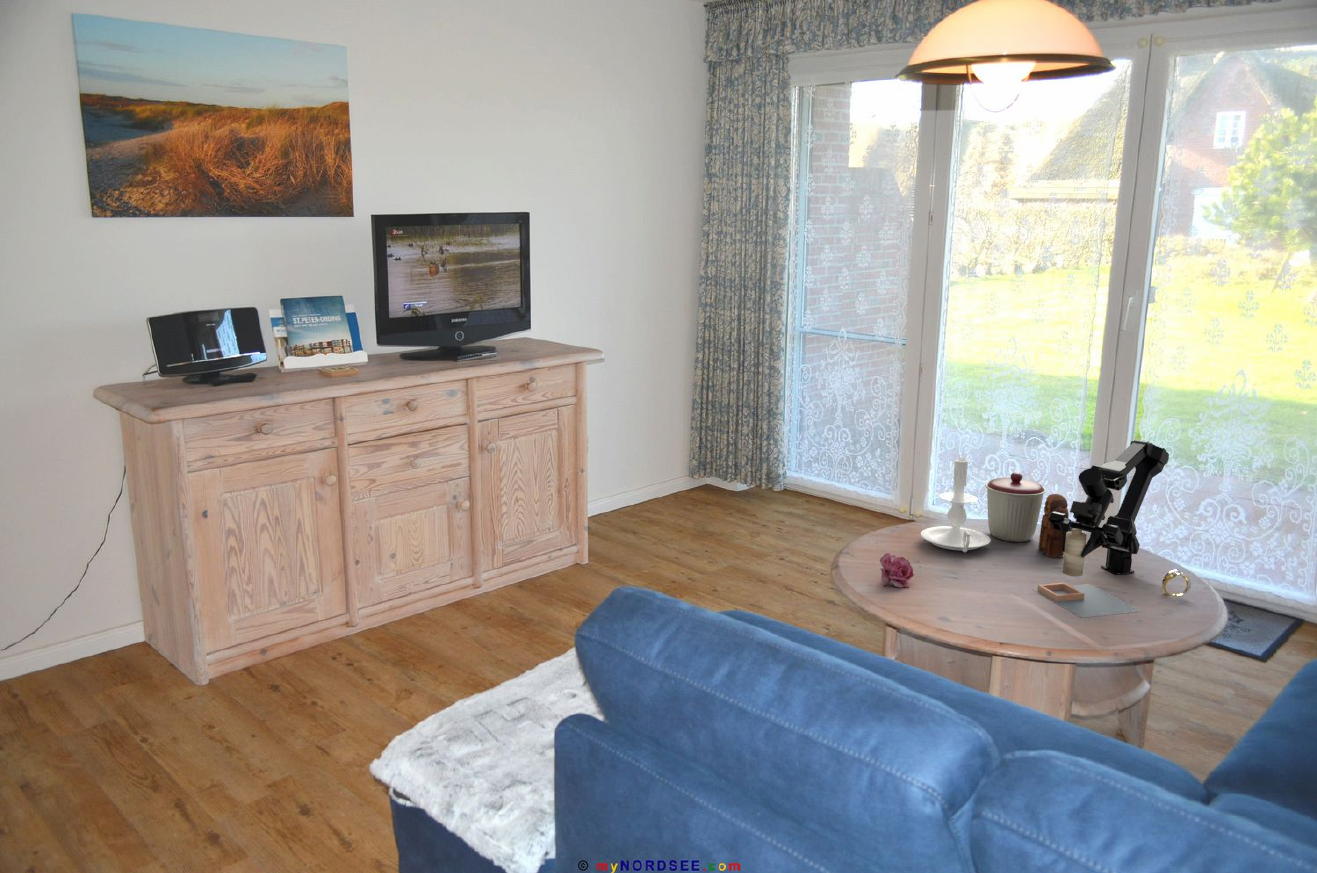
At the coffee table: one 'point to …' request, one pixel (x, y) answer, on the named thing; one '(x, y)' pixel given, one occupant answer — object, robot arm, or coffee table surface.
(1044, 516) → the wooden figurine
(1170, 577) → the ring
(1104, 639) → the coffee table surface
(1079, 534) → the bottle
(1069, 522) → the robot arm
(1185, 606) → the coffee table surface
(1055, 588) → the board
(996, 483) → the canister
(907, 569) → the flower
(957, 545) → the candlestick
